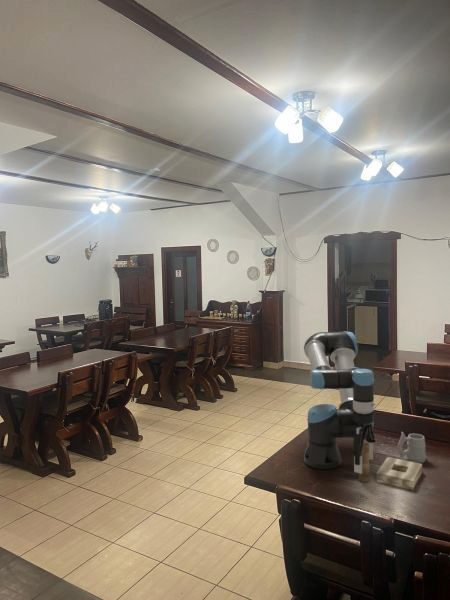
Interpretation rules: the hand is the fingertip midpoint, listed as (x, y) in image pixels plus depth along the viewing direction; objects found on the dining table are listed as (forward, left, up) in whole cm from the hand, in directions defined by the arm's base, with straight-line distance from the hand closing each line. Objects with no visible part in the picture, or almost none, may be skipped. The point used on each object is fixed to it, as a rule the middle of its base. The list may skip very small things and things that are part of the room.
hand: (363, 465), depth 172 cm
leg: (0, 0, -6) cm, 6 cm away
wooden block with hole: (+11, +9, -6) cm, 15 cm away
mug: (+11, +27, -6) cm, 30 cm away
